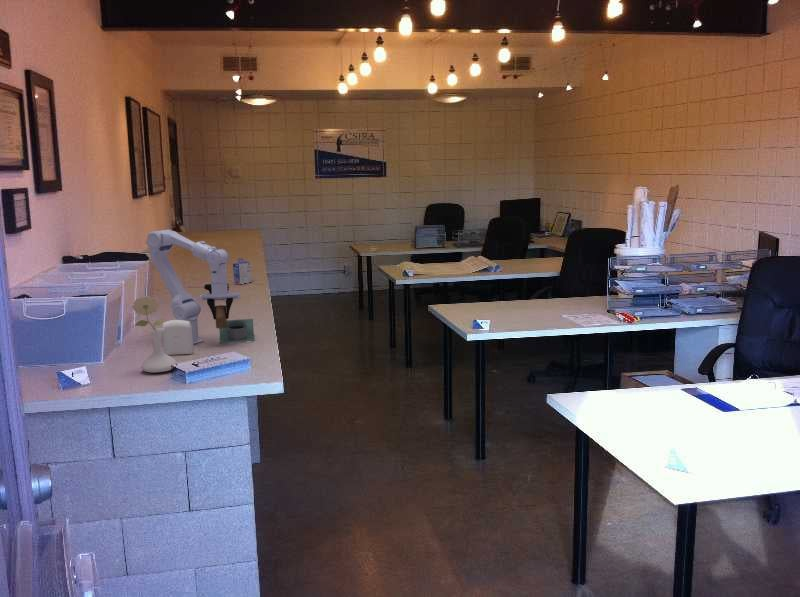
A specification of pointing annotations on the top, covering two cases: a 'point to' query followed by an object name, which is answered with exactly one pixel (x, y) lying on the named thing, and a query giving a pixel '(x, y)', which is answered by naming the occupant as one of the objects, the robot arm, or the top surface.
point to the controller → (208, 287)
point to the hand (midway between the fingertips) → (221, 318)
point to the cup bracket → (237, 331)
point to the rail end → (220, 316)
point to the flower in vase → (158, 358)
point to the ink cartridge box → (242, 272)
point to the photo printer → (177, 337)
